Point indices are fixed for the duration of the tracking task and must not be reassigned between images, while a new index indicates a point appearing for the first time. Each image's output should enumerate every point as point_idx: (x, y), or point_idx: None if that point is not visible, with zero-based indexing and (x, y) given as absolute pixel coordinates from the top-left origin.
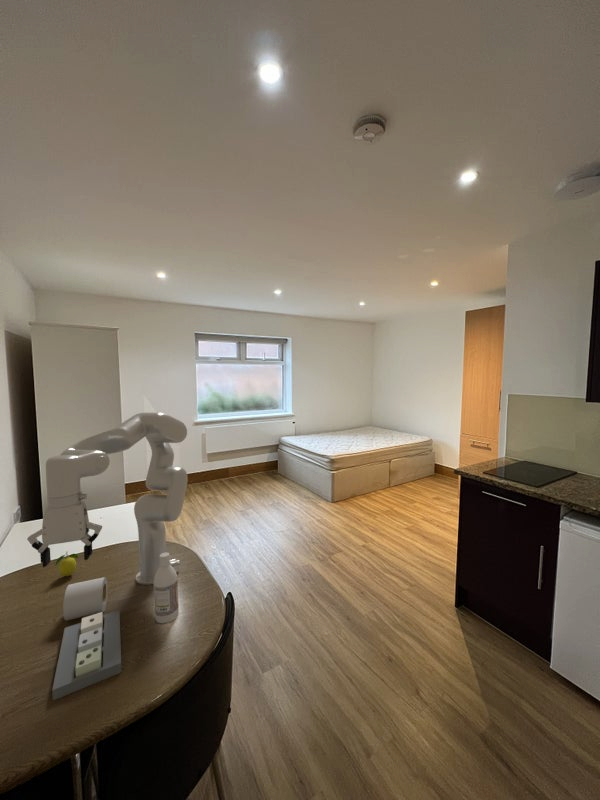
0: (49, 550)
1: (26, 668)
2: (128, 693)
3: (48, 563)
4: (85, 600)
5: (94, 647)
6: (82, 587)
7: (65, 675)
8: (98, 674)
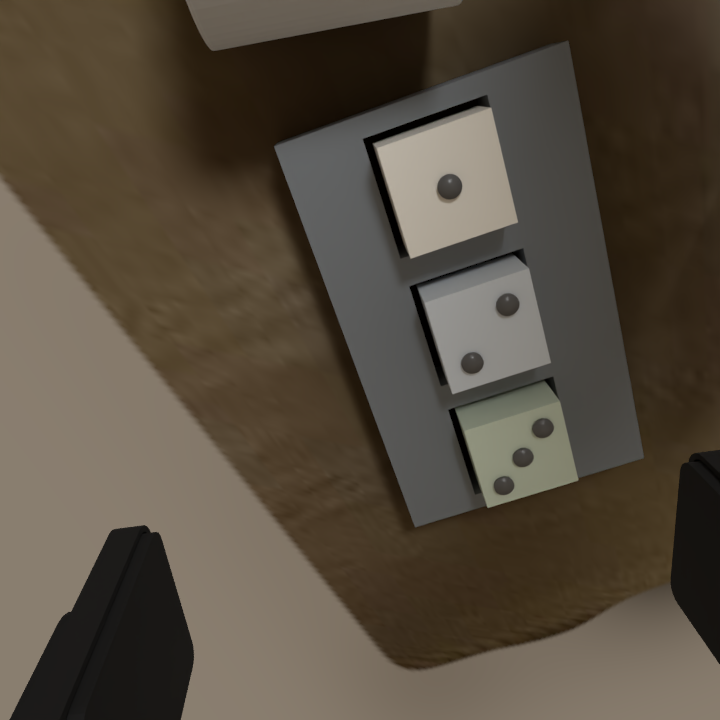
0: (103, 709)
1: (207, 333)
2: (662, 522)
3: (176, 593)
4: (354, 9)
5: (532, 410)
6: None
7: (435, 475)
8: None
